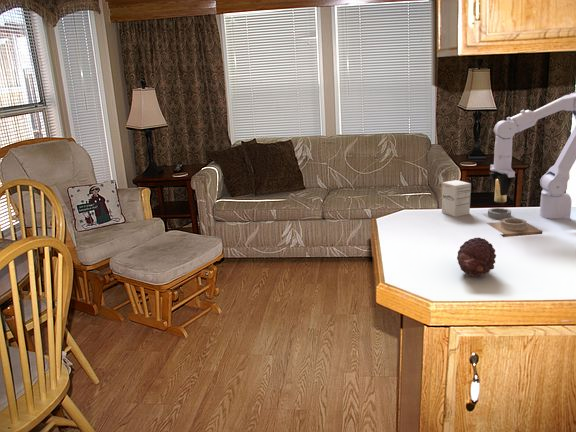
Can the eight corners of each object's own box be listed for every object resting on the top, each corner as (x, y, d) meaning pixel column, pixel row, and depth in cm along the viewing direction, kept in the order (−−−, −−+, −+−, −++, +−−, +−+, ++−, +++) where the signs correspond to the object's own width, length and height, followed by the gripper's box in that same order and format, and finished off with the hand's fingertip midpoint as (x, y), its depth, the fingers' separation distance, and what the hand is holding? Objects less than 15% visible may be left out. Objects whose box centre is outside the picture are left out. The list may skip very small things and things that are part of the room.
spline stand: (505, 214, 203) (505, 206, 202) (517, 221, 194) (517, 213, 194) (481, 216, 202) (482, 208, 201) (492, 223, 194) (493, 214, 193)
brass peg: (503, 199, 198) (504, 177, 196) (508, 201, 195) (509, 179, 192) (492, 200, 198) (493, 178, 196) (497, 202, 194) (498, 180, 192)
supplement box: (440, 215, 207) (441, 182, 203) (456, 212, 210) (457, 179, 206) (454, 219, 200) (455, 185, 197) (470, 216, 203) (471, 182, 200)
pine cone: (458, 260, 160) (460, 227, 157) (495, 263, 156) (497, 230, 154) (454, 283, 144) (455, 247, 141) (494, 287, 140) (496, 250, 138)
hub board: (522, 223, 192) (522, 214, 191) (542, 234, 179) (542, 225, 179) (486, 225, 191) (486, 217, 190) (503, 237, 178) (504, 228, 178)
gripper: (482, 153, 199) (481, 189, 202) (501, 159, 185) (499, 199, 188) (501, 151, 199) (499, 188, 203) (521, 158, 185) (519, 197, 189)
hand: (500, 193), depth 196 cm, fingers closed on brass peg, 4 cm apart
